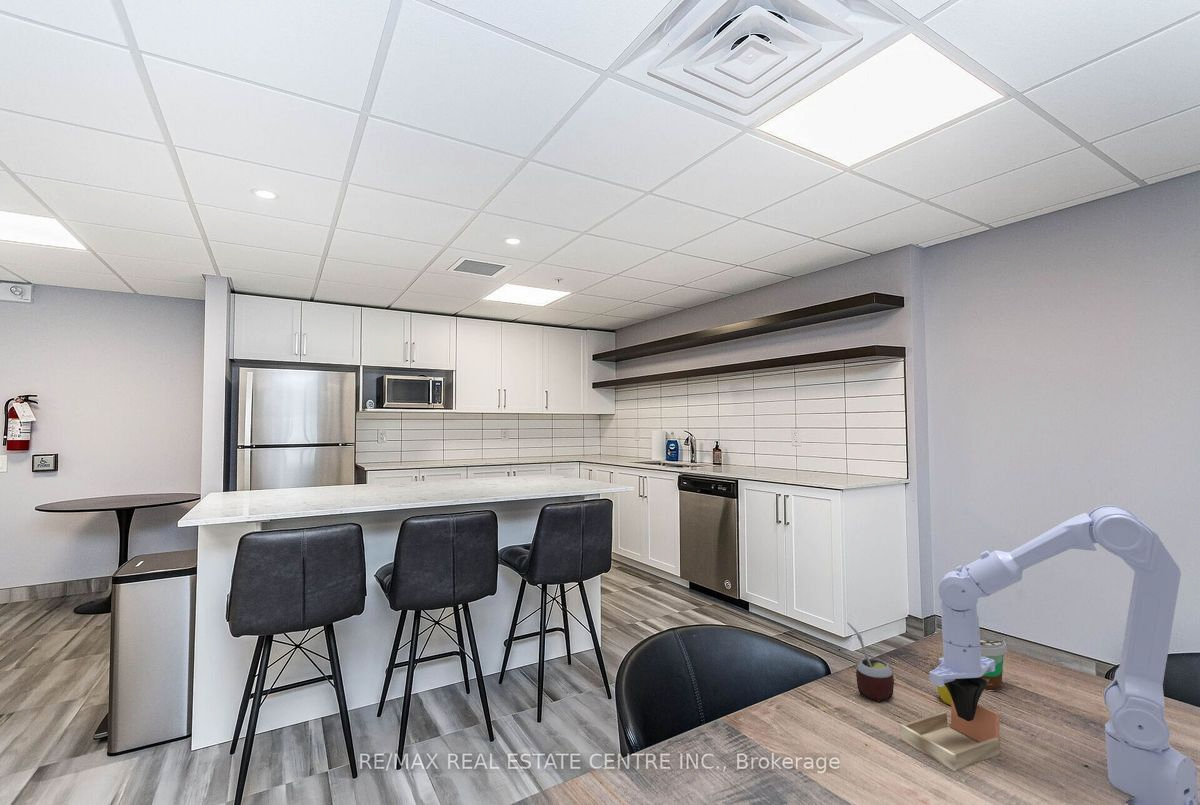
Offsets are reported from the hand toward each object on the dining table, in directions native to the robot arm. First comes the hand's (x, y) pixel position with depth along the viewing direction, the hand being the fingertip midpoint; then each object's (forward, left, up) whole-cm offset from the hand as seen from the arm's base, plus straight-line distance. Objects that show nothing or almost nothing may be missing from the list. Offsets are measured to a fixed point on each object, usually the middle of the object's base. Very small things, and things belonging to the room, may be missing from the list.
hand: (965, 718), depth 98 cm
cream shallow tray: (0, +4, -5) cm, 7 cm away
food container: (+14, -25, -6) cm, 29 cm away
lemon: (+10, -11, -6) cm, 16 cm away
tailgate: (0, -1, -4) cm, 4 cm away
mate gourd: (+19, +1, -6) cm, 20 cm away
